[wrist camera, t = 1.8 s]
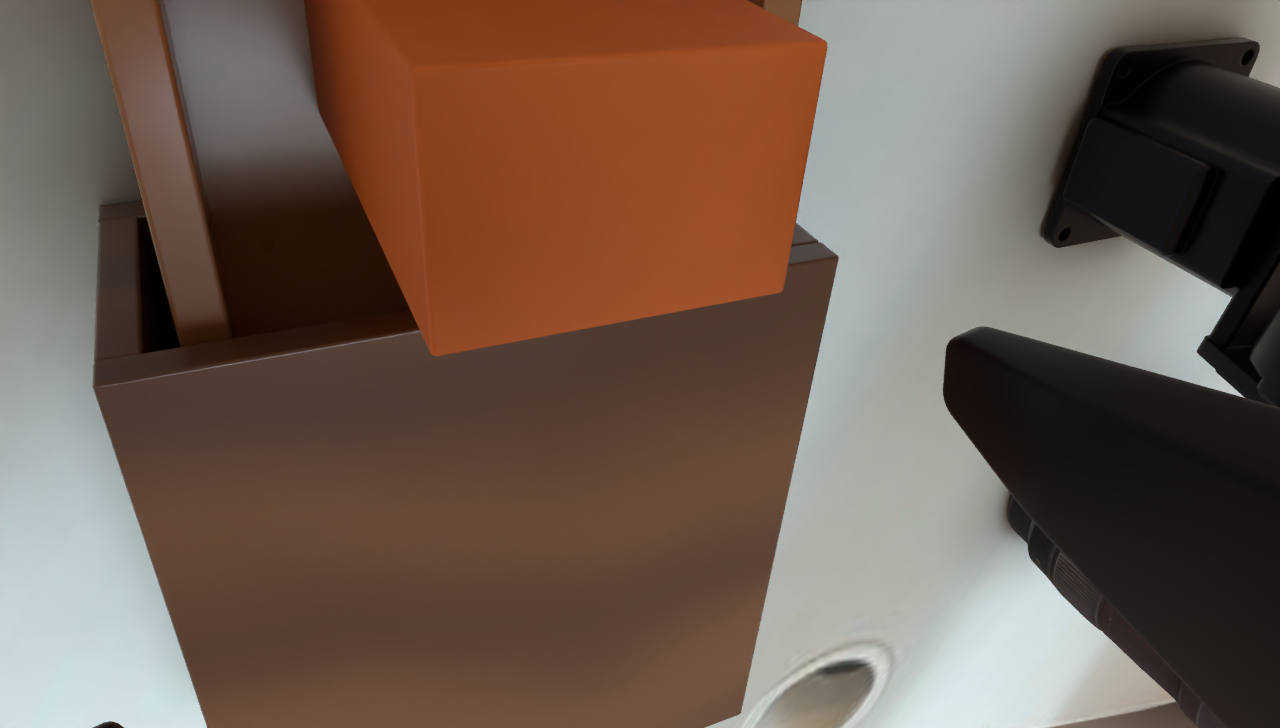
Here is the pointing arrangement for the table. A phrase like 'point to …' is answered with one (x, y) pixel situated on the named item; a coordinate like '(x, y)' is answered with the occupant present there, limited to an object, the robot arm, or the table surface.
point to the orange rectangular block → (568, 154)
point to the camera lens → (1105, 615)
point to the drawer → (245, 167)
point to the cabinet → (460, 505)
